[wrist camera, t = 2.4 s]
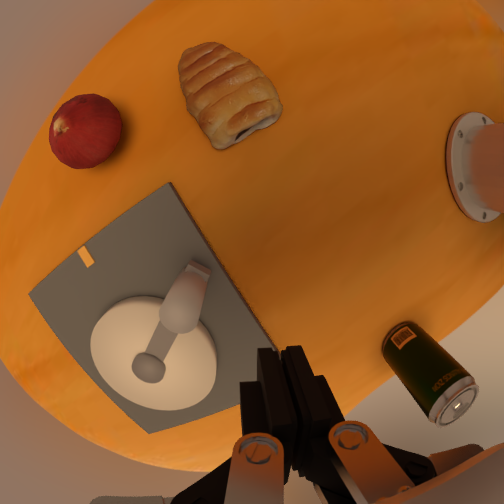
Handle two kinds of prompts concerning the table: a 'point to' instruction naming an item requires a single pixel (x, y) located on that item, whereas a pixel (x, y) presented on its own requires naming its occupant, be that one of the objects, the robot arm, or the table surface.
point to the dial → (159, 345)
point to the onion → (85, 131)
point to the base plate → (153, 285)
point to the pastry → (226, 93)
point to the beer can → (429, 374)
